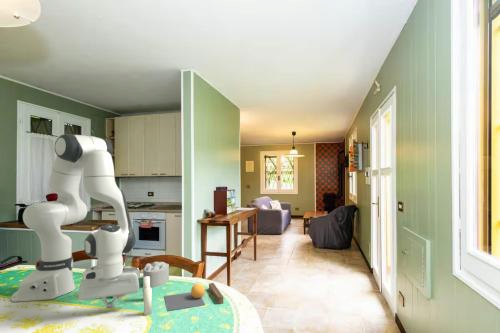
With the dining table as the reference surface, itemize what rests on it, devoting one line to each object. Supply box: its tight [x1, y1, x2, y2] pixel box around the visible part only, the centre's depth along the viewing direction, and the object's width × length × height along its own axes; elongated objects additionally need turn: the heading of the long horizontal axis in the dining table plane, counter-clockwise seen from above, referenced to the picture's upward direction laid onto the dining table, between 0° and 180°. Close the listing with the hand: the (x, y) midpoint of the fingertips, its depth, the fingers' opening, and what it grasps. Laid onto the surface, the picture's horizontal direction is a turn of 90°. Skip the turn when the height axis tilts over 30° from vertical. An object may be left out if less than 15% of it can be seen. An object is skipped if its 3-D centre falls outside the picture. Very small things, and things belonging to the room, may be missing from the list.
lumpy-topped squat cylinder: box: [142, 261, 170, 289], centre depth 139 cm, size 10×13×9 cm
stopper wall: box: [208, 282, 224, 305], centre depth 124 cm, size 2×16×2 cm, turn 21°
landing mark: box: [163, 291, 206, 312], centre depth 119 cm, size 14×14×1 cm
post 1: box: [142, 276, 150, 302], centre depth 120 cm, size 3×3×9 cm
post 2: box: [143, 287, 153, 316], centre depth 108 cm, size 3×3×9 cm
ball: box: [190, 283, 206, 298], centre depth 122 cm, size 6×6×6 cm
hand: (109, 307), depth 109 cm, fingers closed
